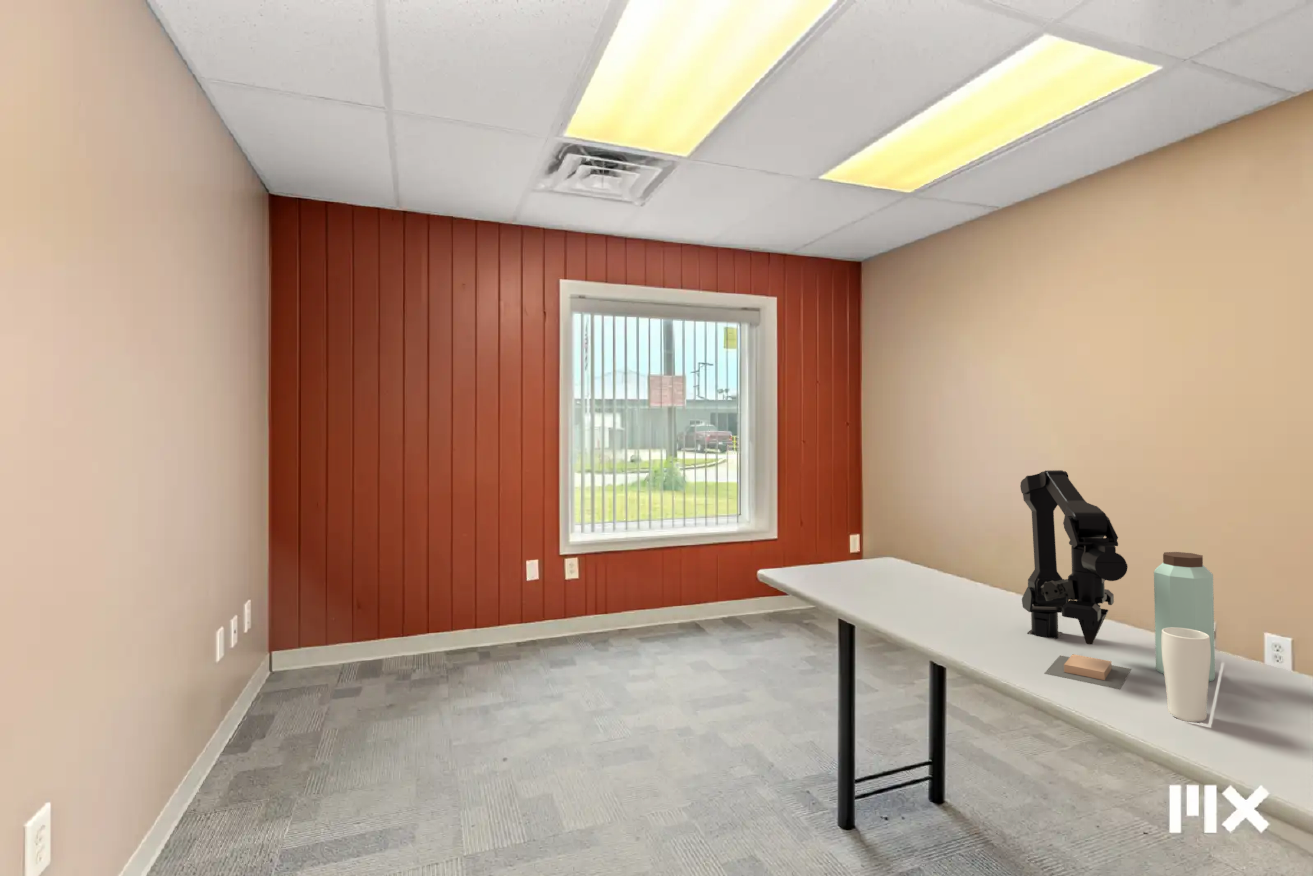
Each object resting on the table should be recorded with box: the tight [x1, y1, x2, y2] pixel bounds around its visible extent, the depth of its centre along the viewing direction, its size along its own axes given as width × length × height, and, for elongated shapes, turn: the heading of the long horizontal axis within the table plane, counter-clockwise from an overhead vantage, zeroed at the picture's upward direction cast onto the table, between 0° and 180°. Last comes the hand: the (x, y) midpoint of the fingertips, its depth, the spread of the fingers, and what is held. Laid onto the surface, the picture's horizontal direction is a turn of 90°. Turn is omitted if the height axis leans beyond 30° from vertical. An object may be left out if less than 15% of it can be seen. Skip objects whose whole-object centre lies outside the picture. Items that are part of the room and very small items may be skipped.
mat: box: [1043, 654, 1132, 690], centre depth 136 cm, size 14×13×1 cm
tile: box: [1064, 653, 1113, 680], centre depth 136 cm, size 2×7×8 cm
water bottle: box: [1153, 551, 1216, 682], centre depth 133 cm, size 10×10×25 cm
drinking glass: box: [1161, 627, 1211, 723], centre depth 115 cm, size 7×7×15 cm
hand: (1089, 643), depth 137 cm, fingers closed
